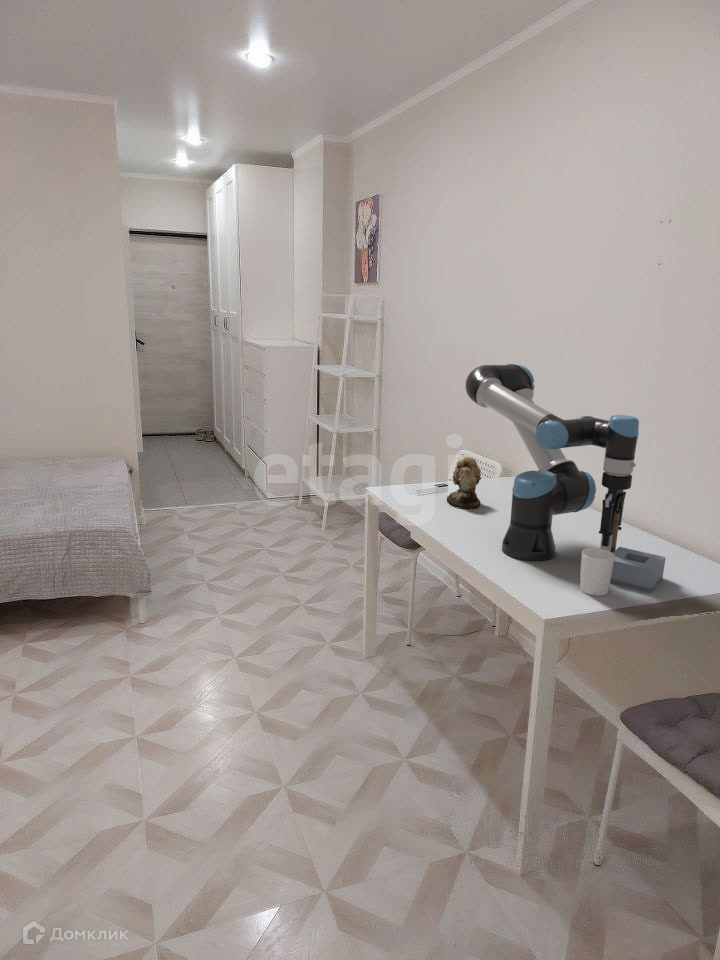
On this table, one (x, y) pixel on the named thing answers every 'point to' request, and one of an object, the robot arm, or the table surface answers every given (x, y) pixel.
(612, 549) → the walnut dowel
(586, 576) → the white cup
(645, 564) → the socket block
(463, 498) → the brown stone bust
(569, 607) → the table surface
